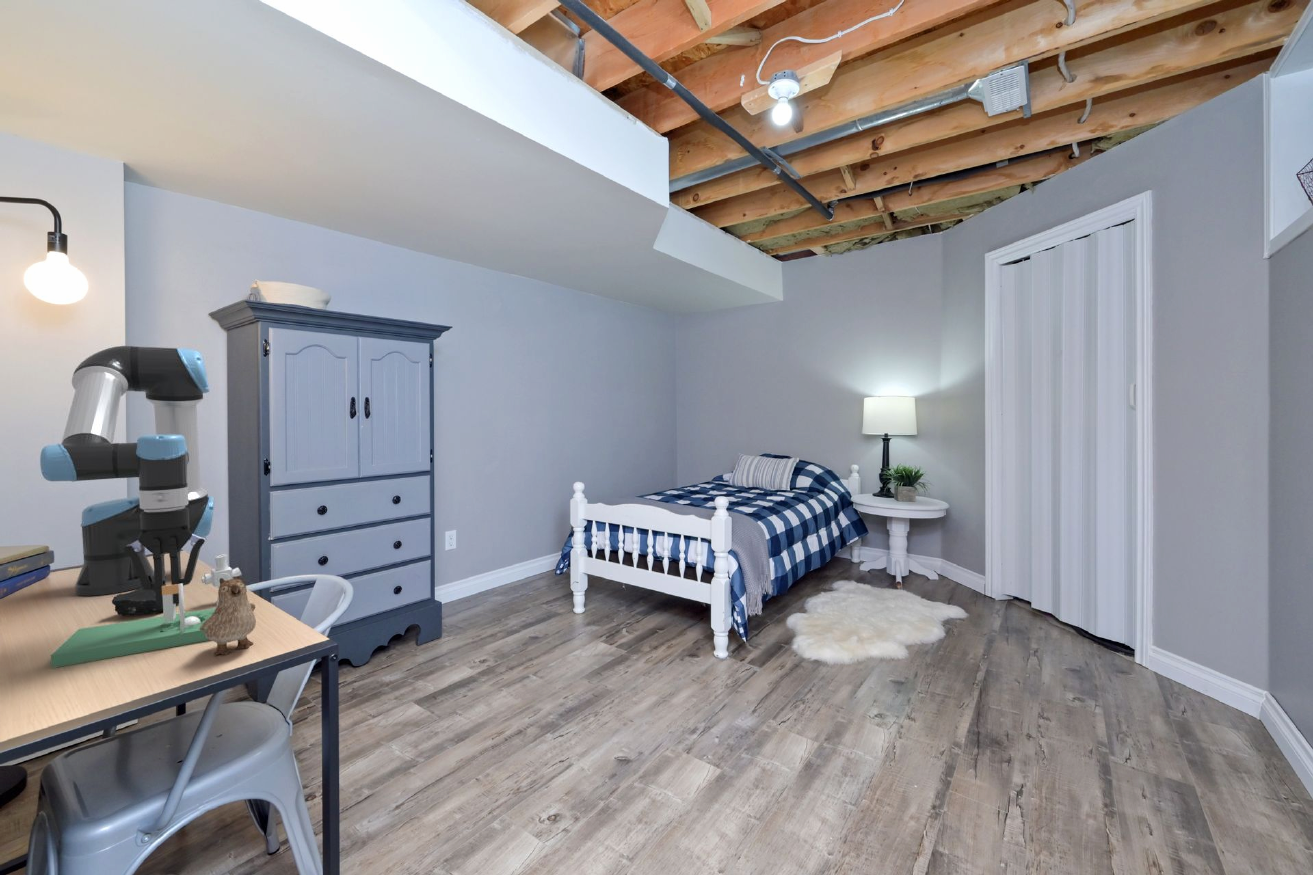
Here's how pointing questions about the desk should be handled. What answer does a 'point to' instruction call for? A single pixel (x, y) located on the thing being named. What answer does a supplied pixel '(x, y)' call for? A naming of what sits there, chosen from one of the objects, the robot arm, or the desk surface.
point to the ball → (191, 621)
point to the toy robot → (220, 573)
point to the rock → (137, 603)
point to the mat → (132, 636)
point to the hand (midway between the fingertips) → (170, 619)
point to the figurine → (231, 617)
